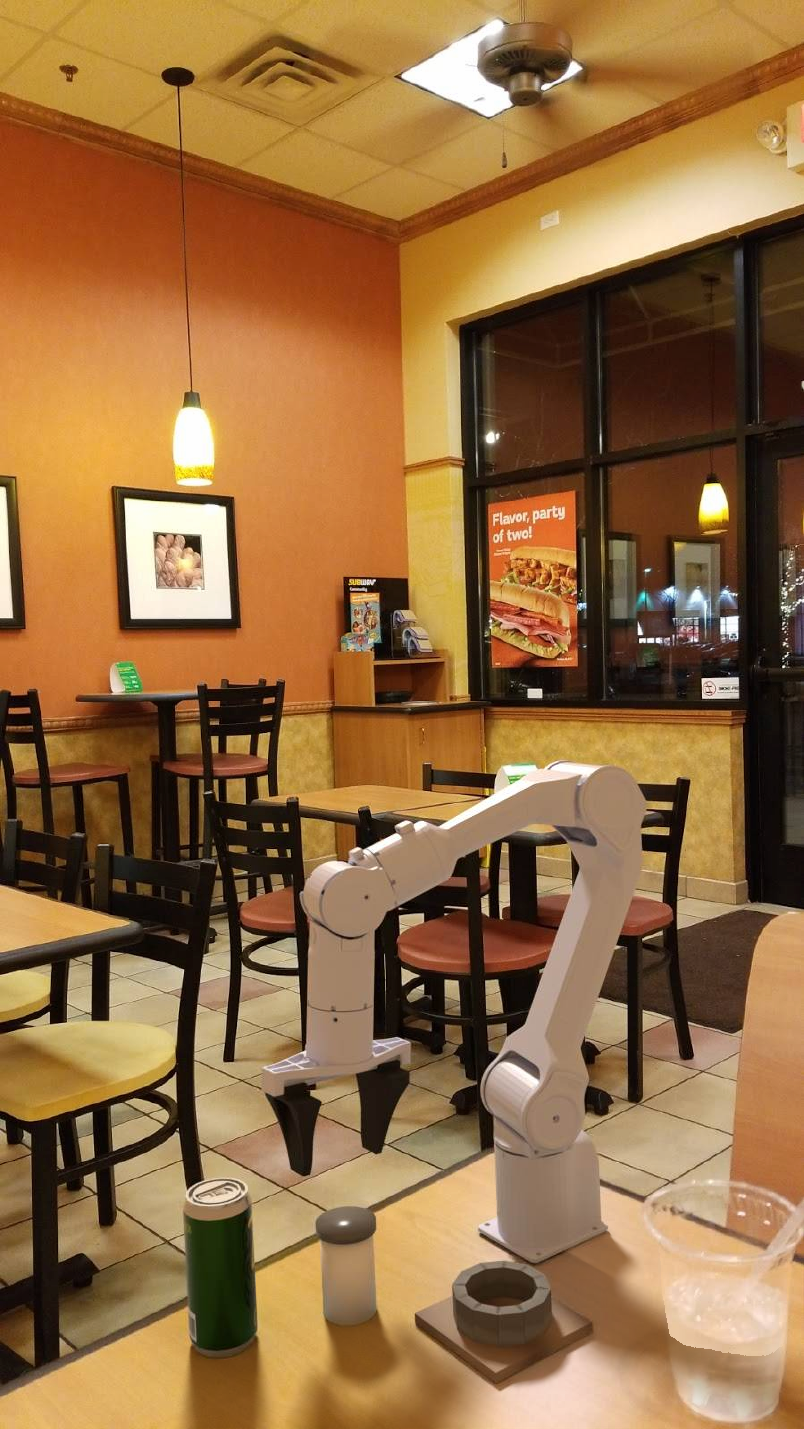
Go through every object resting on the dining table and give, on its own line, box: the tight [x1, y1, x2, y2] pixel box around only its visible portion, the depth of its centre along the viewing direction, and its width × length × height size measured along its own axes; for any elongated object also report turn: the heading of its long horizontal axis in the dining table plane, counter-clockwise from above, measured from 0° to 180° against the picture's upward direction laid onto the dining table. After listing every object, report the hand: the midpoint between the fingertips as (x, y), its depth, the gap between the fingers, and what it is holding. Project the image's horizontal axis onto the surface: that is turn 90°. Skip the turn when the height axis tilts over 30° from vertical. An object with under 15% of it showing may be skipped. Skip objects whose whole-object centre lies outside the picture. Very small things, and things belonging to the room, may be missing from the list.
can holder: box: [414, 1260, 594, 1384], centre depth 88 cm, size 10×10×3 cm
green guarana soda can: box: [182, 1177, 259, 1359], centre depth 88 cm, size 5×5×12 cm
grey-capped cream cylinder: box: [315, 1205, 378, 1326], centre depth 92 cm, size 5×5×8 cm
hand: (337, 1160), depth 96 cm, fingers open, 7 cm apart
